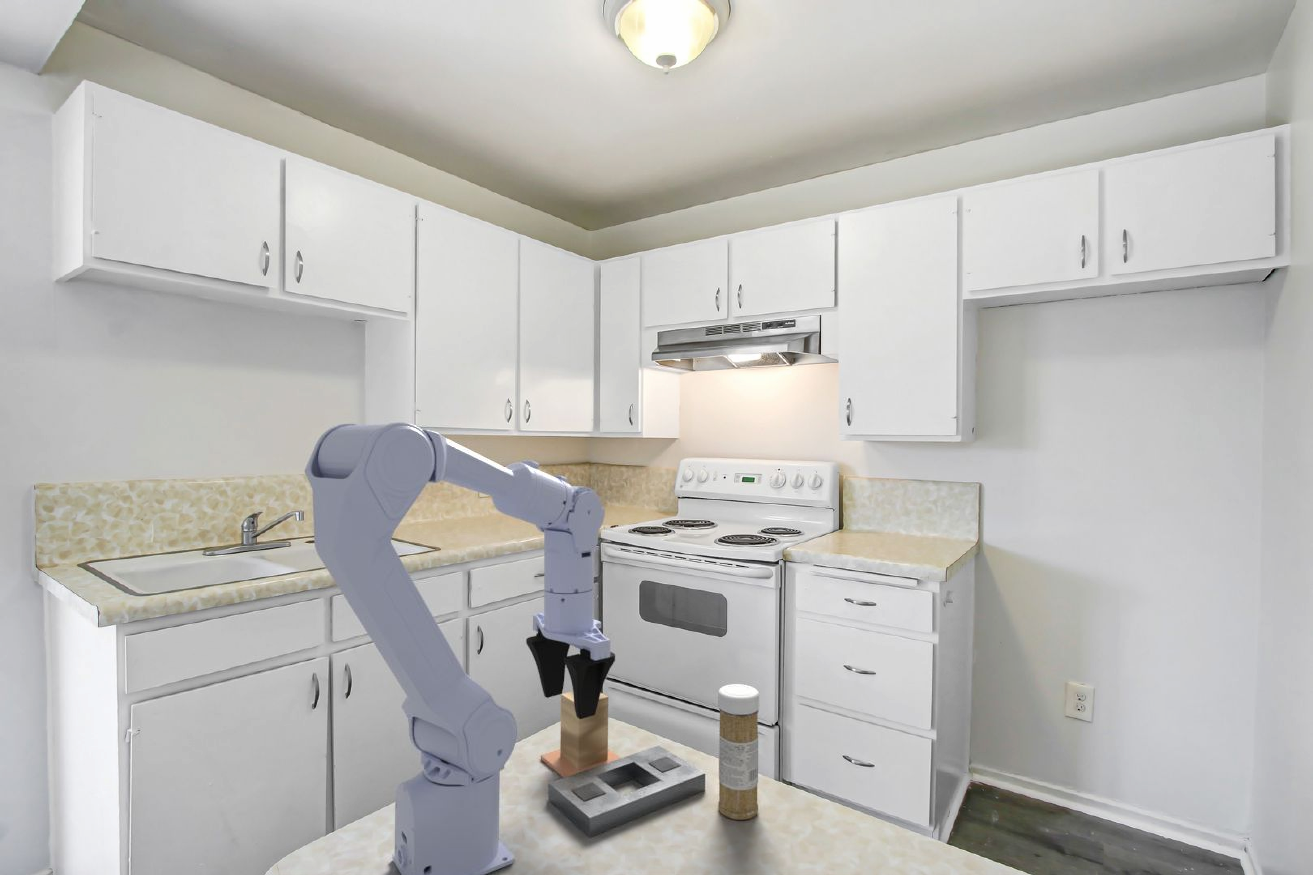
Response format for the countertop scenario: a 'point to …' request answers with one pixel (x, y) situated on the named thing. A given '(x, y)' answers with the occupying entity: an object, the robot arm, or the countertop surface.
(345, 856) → the countertop surface
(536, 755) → the countertop surface
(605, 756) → the wooden peg
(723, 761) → the sprinkles bottle
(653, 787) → the square hole bar
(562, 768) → the tile
